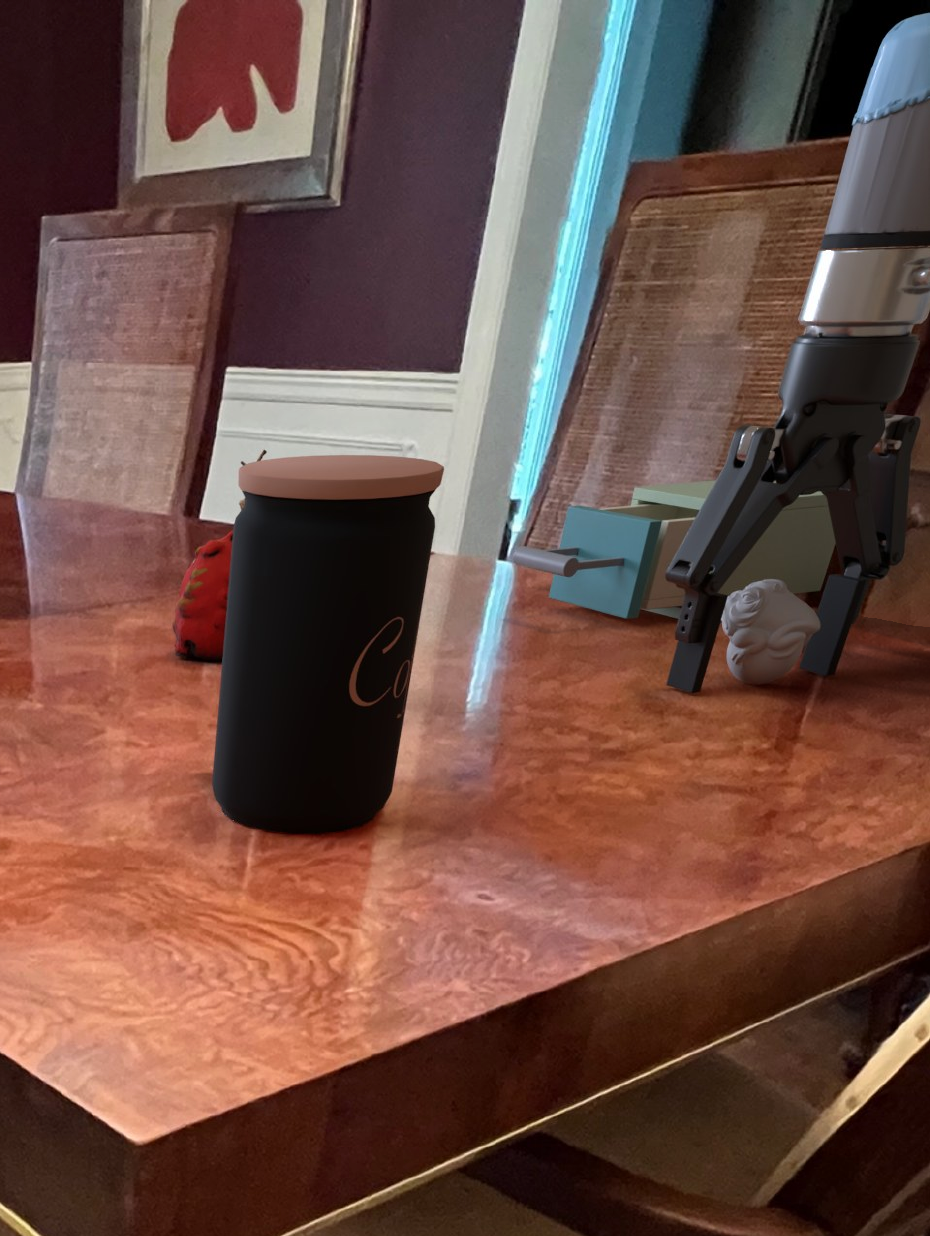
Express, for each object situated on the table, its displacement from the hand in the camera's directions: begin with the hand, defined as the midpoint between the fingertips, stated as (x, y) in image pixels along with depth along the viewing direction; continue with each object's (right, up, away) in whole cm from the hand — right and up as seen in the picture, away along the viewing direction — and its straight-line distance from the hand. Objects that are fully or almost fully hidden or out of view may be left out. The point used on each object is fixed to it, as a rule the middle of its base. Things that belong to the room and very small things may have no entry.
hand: (750, 680), depth 103 cm
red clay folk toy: (-38, +8, +13) cm, 41 cm away
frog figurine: (0, 0, 0) cm, 0 cm away
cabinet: (+9, +17, +22) cm, 30 cm away
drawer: (-1, +16, +19) cm, 25 cm away
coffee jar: (-40, -17, -20) cm, 48 cm away
